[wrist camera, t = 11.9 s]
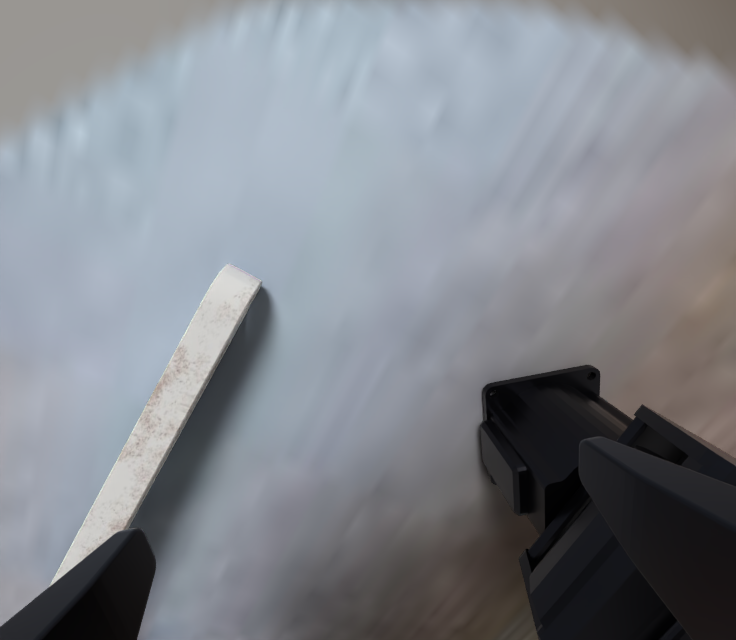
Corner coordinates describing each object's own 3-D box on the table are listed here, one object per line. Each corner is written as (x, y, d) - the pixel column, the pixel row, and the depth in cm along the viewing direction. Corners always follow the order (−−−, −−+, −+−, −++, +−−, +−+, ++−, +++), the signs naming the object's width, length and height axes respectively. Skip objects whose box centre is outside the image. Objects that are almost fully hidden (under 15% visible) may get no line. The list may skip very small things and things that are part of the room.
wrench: (271, 275, 21) (41, 694, 24) (241, 258, 21) (10, 687, 23) (252, 292, 13) (-89, 915, 16) (202, 265, 13) (-140, 910, 15)
